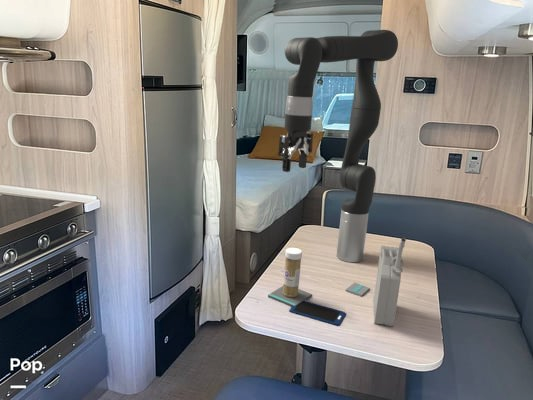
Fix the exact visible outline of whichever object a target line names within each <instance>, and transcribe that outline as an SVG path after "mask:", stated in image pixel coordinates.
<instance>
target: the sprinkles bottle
mask: <svg viewBox="0 0 533 400" xmlns="http://www.w3.org/2000/svg"><path fill="white" fill-rule="evenodd" d="M284 254H285V266H284V275H283V285H282V286H283V294H284V295H285V296H287V297H296V296H297V295H298V289H299V287H300V286H299V285H300V276H301V263H302V262H301V261H302V258H303V251H302V250H301V248H298V247H297V248H296V247H288V248H286V249H285V253H284Z"/></svg>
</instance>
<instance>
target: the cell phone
mask: <svg viewBox="0 0 533 400" xmlns="http://www.w3.org/2000/svg"><path fill="white" fill-rule="evenodd" d="M288 312H289V313H291V314H295V315H299V316H301V317H304V318H309V319H312V320H315V321H318V322H322V323H325V324H330V325H333V326H336V327H338V326H340V325H341V324H342V322H343V320H344V319H345V318H346V314H347V313H346V312H345V311H343V310H340V309H336V308H332V307H329V306H324V305H322V304H317V303H314V302H311V301H307V300H305V301H302V302H301V303H299V304H298V305H297V306H295V307H294V306H292V307H291V306H290V308H289V311H288Z"/></svg>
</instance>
